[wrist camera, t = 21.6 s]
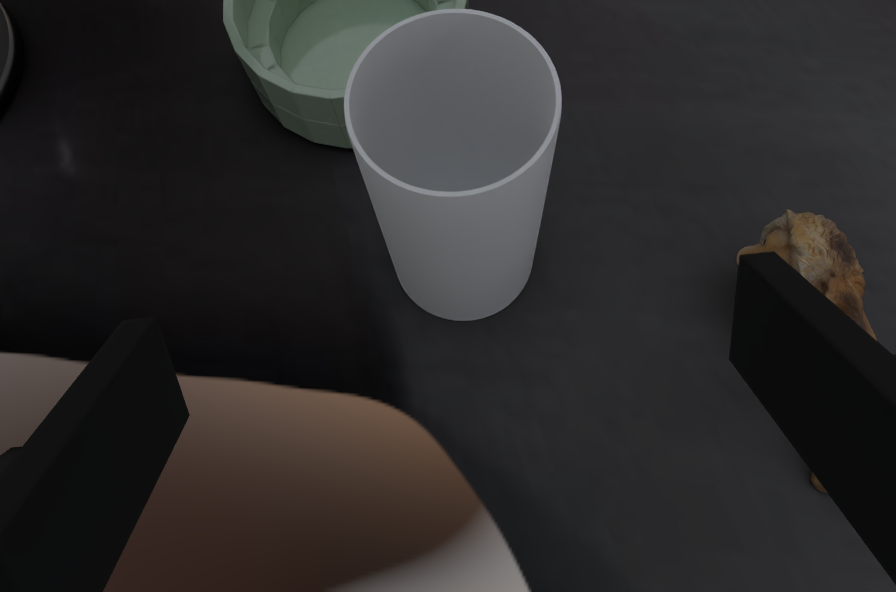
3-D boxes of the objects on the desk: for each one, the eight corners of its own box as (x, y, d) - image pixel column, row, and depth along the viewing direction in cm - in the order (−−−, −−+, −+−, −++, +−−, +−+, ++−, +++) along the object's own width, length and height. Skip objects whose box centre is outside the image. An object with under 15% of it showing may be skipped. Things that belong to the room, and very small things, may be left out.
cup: (379, 305, 40) (316, 175, 25) (412, 181, 43) (373, -7, 27) (518, 333, 39) (541, 216, 24) (544, 204, 42) (579, 24, 27)
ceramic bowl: (212, 94, 45) (174, 32, 40) (331, -59, 49) (311, -135, 43) (395, 189, 43) (382, 138, 37) (508, 21, 46) (511, -50, 40)
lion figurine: (686, 286, 40) (741, 222, 31) (766, 248, 40) (842, 175, 32) (837, 531, 35) (950, 534, 27) (925, 485, 36) (1063, 474, 27)
